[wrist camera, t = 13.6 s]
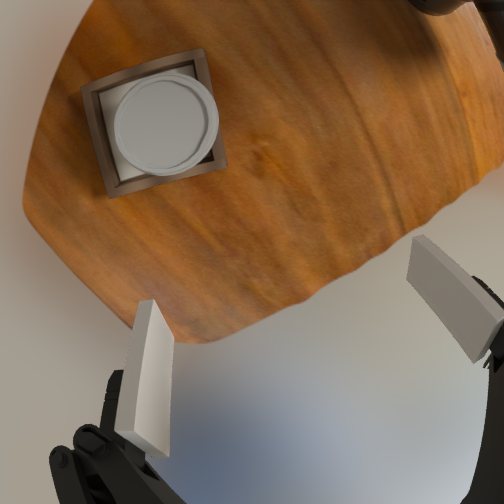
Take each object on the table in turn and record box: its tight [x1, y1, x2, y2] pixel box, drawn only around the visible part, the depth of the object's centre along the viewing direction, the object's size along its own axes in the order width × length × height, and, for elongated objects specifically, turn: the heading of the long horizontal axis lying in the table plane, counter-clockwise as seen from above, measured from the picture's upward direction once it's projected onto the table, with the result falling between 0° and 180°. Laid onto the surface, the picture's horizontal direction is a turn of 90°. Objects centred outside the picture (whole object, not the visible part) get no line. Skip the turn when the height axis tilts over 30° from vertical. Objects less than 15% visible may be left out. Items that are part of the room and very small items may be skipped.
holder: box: [81, 48, 228, 199], centre depth 30 cm, size 16×16×4 cm
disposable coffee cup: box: [113, 73, 219, 176], centre depth 26 cm, size 10×10×12 cm
